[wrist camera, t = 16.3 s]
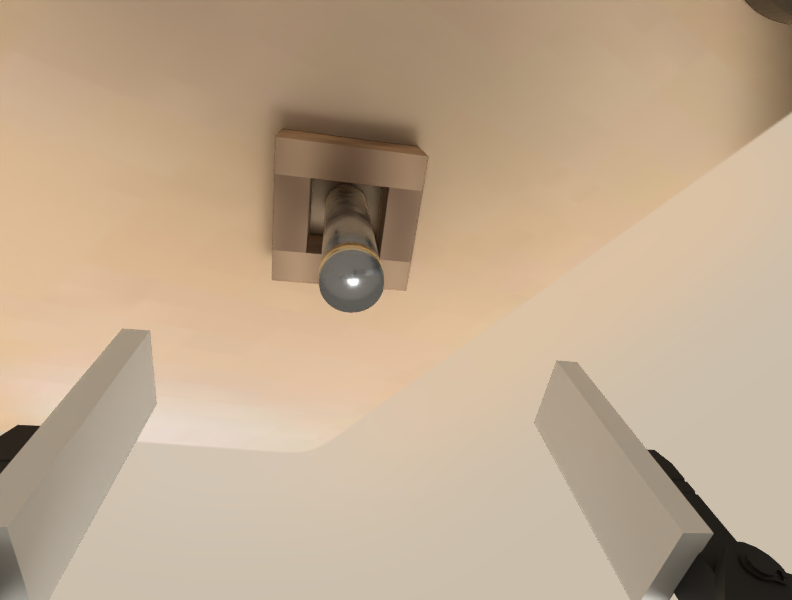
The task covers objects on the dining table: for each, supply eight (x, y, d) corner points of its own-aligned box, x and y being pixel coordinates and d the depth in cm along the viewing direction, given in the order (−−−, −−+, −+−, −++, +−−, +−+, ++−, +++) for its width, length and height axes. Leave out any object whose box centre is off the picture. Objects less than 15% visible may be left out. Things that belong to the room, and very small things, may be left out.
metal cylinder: (370, 188, 34) (390, 258, 21) (363, 228, 35) (378, 317, 22) (328, 180, 33) (323, 247, 20) (322, 221, 34) (313, 308, 22)
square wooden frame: (418, 146, 33) (428, 156, 29) (399, 269, 37) (406, 290, 33) (282, 128, 31) (275, 136, 28) (278, 258, 35) (271, 280, 32)
